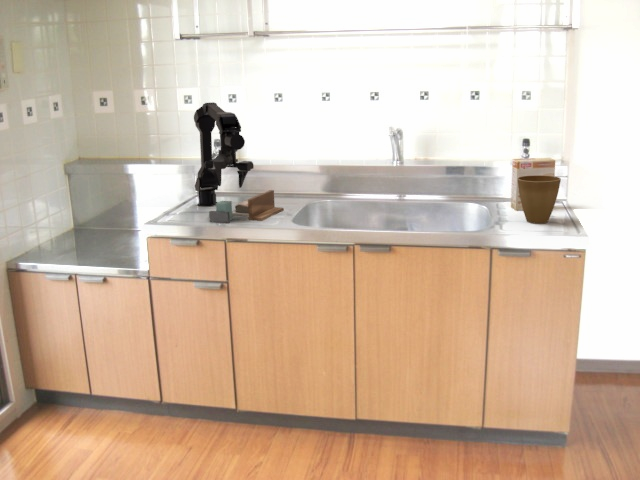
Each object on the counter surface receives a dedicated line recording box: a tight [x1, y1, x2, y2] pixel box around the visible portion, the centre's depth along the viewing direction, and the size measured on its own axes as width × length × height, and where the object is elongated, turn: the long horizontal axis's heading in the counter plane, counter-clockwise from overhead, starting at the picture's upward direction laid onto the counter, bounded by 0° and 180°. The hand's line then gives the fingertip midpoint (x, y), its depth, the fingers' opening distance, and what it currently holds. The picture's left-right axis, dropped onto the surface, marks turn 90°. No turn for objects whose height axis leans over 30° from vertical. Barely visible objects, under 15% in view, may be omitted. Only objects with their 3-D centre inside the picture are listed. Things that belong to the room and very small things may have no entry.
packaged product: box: [232, 199, 249, 218], centre depth 287 cm, size 18×5×10 cm
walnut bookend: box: [247, 189, 284, 222], centre depth 280 cm, size 6×20×8 cm, turn 158°
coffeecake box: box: [510, 157, 556, 211], centre depth 278 cm, size 15×7×20 cm, turn 92°
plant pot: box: [517, 175, 562, 224], centre depth 257 cm, size 15×15×16 cm
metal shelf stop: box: [208, 210, 231, 224], centre depth 269 cm, size 8×1×4 cm, turn 69°
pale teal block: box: [215, 200, 233, 221], centre depth 273 cm, size 4×5×7 cm
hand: (230, 186), depth 276 cm, fingers open, 9 cm apart
